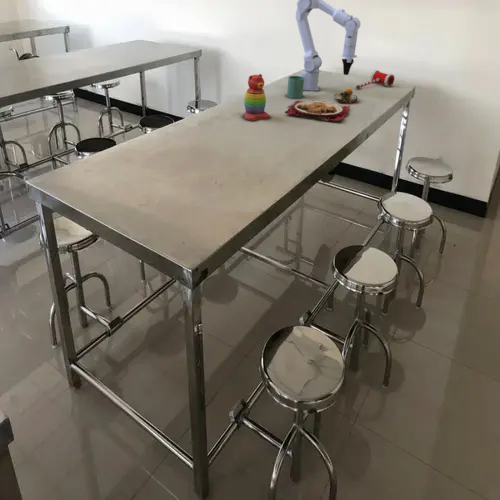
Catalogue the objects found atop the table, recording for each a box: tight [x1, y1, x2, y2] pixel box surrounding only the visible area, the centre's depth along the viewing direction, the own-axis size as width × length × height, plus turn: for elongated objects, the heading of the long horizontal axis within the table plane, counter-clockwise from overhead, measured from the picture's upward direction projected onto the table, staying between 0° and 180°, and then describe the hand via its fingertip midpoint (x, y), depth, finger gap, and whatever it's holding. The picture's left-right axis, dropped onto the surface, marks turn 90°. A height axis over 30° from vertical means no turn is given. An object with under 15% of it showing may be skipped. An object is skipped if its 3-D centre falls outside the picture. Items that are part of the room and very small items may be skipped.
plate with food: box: [284, 99, 351, 123], centre depth 222 cm, size 24×26×4 cm
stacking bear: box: [243, 73, 270, 122], centre depth 209 cm, size 11×10×18 cm
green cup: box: [286, 75, 304, 100], centre depth 240 cm, size 8×8×9 cm
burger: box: [333, 87, 358, 104], centre depth 237 cm, size 12×12×8 cm
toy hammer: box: [355, 69, 395, 90], centre depth 261 cm, size 23×12×6 cm, turn 127°
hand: (345, 74), depth 243 cm, fingers closed
